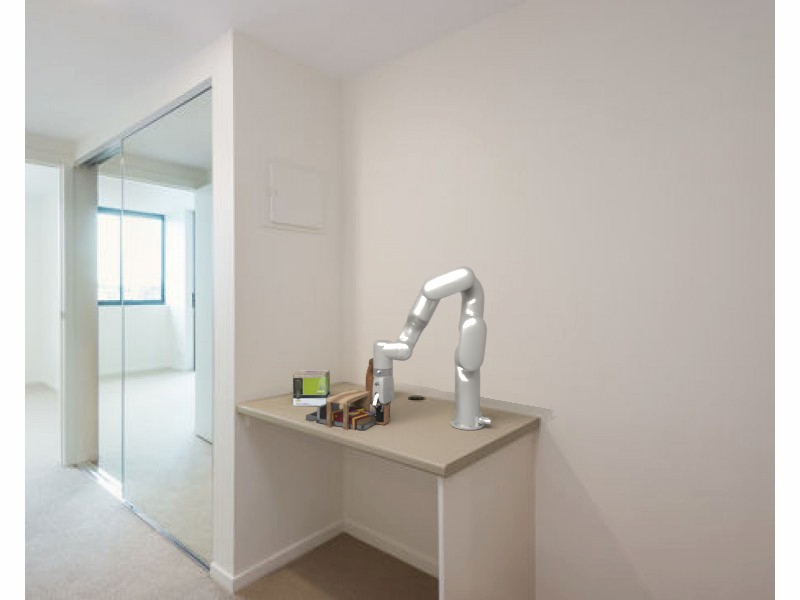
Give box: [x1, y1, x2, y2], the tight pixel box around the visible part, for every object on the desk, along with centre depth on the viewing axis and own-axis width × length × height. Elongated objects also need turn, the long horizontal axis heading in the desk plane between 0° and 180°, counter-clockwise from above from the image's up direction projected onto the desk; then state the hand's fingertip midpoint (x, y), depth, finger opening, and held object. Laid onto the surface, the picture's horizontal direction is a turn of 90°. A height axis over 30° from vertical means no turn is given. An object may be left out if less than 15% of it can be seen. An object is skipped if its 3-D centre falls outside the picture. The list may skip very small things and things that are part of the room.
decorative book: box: [332, 406, 376, 431], centre depth 164 cm, size 11×16×5 cm
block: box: [365, 358, 380, 404], centre depth 196 cm, size 11×8×20 cm
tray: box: [316, 402, 390, 431], centre depth 163 cm, size 24×14×7 cm, turn 64°
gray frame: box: [305, 410, 317, 423], centre depth 170 cm, size 6×11×2 cm, turn 154°
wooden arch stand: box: [326, 389, 371, 431], centre depth 164 cm, size 9×17×11 cm, turn 154°
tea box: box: [292, 369, 331, 407], centre depth 192 cm, size 15×10×15 cm, turn 89°
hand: (382, 419), depth 162 cm, fingers closed on tray, 4 cm apart
